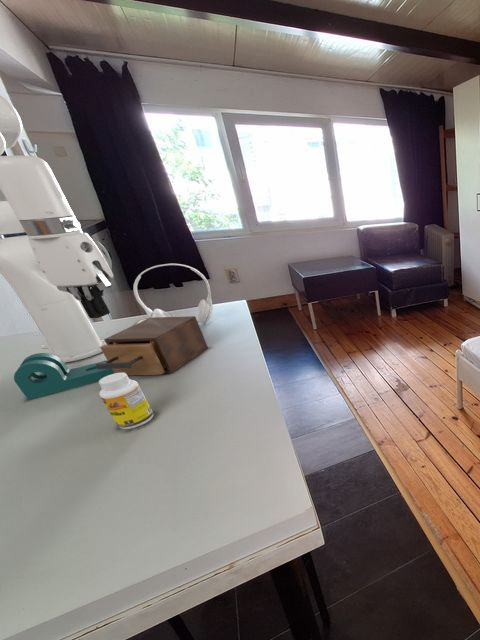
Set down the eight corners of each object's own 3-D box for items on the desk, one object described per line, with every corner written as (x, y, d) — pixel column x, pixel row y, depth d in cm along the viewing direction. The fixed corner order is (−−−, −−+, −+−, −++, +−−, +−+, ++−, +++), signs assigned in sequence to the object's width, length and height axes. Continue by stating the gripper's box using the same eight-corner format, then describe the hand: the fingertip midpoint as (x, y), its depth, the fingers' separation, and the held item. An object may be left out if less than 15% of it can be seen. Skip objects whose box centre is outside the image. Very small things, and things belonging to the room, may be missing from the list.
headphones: (223, 322, 119) (200, 261, 110) (153, 338, 109) (122, 273, 100) (220, 316, 124) (198, 257, 115) (153, 331, 115) (124, 268, 105)
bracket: (28, 400, 81) (6, 369, 78) (34, 387, 86) (14, 358, 82) (131, 372, 91) (116, 343, 87) (131, 362, 96) (117, 335, 92)
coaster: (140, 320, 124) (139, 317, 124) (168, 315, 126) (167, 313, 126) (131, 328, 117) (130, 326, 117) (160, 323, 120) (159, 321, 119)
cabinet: (172, 373, 90) (155, 337, 85) (123, 374, 90) (103, 339, 86) (208, 348, 102) (195, 316, 97) (164, 349, 102) (149, 317, 98)
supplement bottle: (112, 428, 71) (84, 383, 66) (142, 411, 75) (118, 368, 71) (132, 432, 69) (105, 387, 64) (161, 415, 74) (138, 371, 69)
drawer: (145, 385, 83) (129, 355, 79) (97, 386, 83) (79, 356, 80) (196, 350, 98) (185, 324, 95) (156, 351, 99) (143, 325, 95)
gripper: (107, 223, 74) (147, 308, 82) (37, 226, 74) (84, 311, 83) (70, 229, 67) (118, 321, 75) (-7, 232, 68) (49, 323, 76)
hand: (100, 315), depth 79 cm, fingers closed
